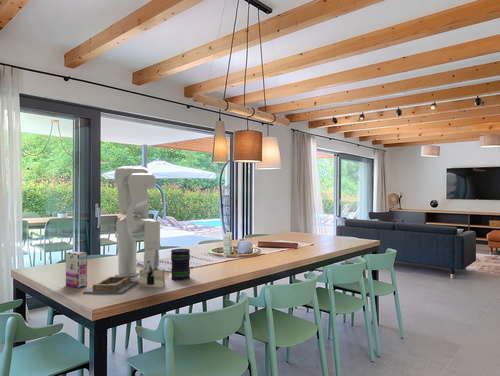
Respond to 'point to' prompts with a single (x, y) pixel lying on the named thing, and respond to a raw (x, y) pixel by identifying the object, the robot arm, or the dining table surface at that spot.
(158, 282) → the ash block
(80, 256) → the candy bar box
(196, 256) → the dining table surface
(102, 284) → the slot board
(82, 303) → the dining table surface
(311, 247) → the dining table surface
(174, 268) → the storage jar
